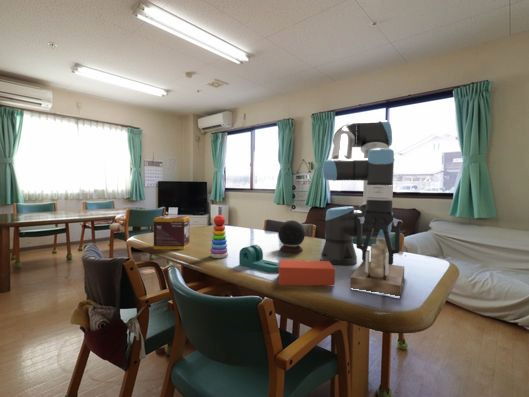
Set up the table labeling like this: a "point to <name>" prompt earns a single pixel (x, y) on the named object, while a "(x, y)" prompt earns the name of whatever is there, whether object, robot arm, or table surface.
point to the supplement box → (171, 232)
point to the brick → (306, 273)
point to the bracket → (256, 259)
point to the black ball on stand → (291, 236)
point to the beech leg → (377, 261)
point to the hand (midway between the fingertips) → (376, 272)
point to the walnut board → (386, 286)
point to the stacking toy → (219, 239)
